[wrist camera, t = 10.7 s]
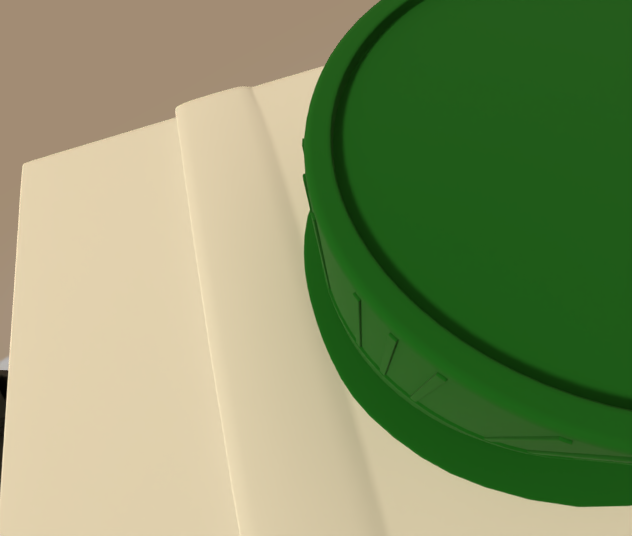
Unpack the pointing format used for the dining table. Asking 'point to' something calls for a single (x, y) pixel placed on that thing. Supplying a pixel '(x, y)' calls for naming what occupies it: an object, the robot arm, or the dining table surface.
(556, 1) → the milk carton
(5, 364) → the dining table surface
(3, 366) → the dining table surface
